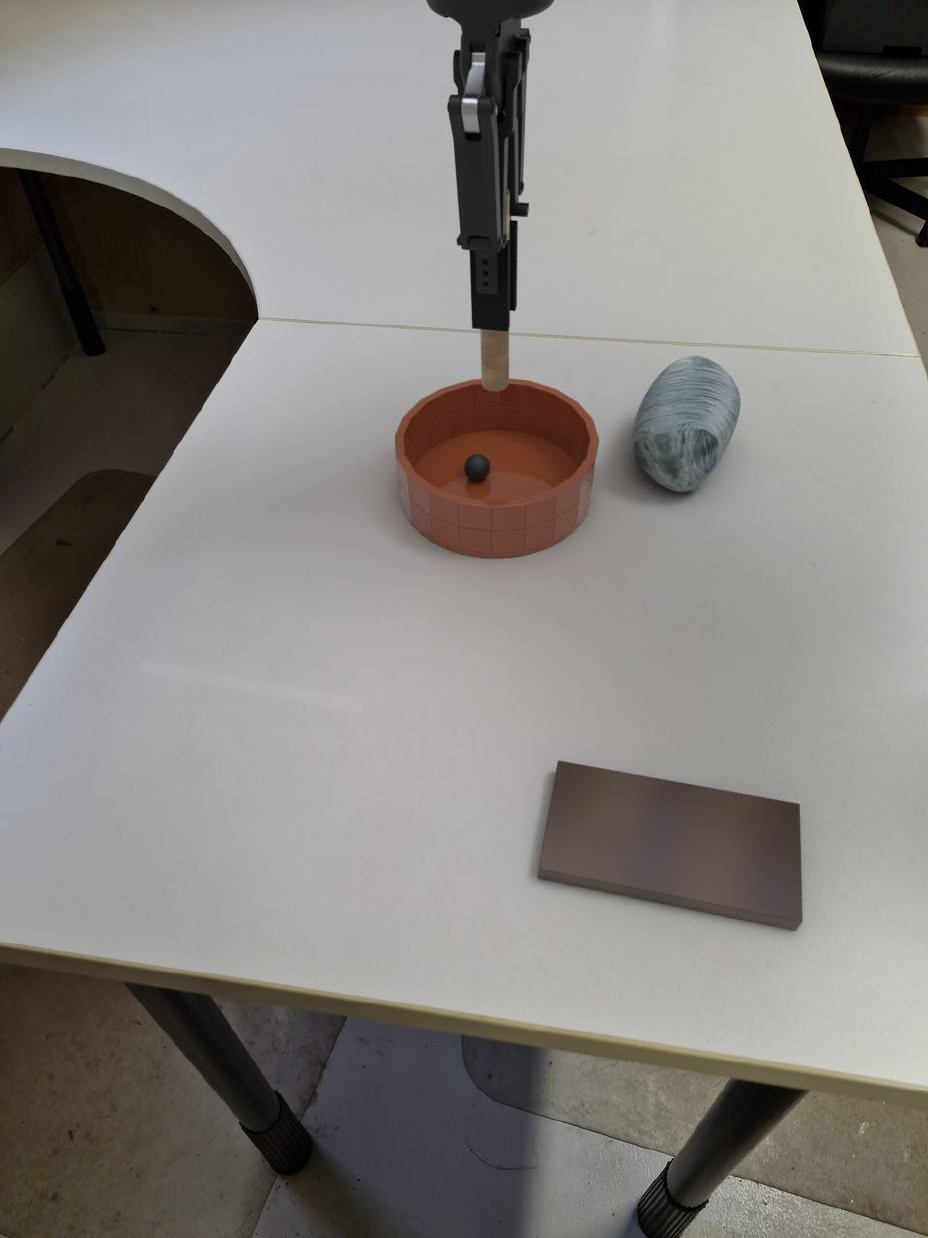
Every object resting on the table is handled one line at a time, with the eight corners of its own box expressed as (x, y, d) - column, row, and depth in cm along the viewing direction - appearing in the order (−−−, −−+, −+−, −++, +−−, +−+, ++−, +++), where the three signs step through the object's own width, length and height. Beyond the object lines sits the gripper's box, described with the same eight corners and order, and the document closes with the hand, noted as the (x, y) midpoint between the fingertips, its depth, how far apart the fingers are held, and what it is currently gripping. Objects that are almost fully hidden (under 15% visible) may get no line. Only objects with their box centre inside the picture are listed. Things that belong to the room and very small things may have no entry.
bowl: (603, 440, 83) (609, 388, 78) (578, 571, 72) (583, 519, 67) (427, 420, 86) (423, 368, 81) (377, 543, 75) (369, 491, 70)
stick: (511, 377, 69) (512, 185, 58) (506, 393, 68) (506, 200, 56) (484, 374, 70) (480, 184, 58) (479, 390, 68) (473, 198, 57)
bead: (479, 456, 80) (490, 448, 78) (486, 480, 80) (497, 474, 78) (457, 460, 79) (467, 453, 77) (464, 485, 79) (474, 479, 77)
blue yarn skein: (732, 494, 72) (706, 381, 69) (628, 510, 78) (598, 405, 74) (766, 437, 82) (744, 334, 78) (671, 454, 88) (646, 359, 84)
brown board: (794, 814, 57) (800, 803, 56) (796, 931, 52) (802, 922, 51) (556, 771, 60) (557, 760, 59) (537, 878, 55) (538, 868, 54)
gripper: (454, -113, 52) (467, 263, 70) (384, -45, 42) (420, 370, 60) (578, -113, 50) (559, 270, 68) (535, -43, 41) (526, 380, 59)
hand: (494, 316), depth 64 cm, fingers closed on stick, 2 cm apart
